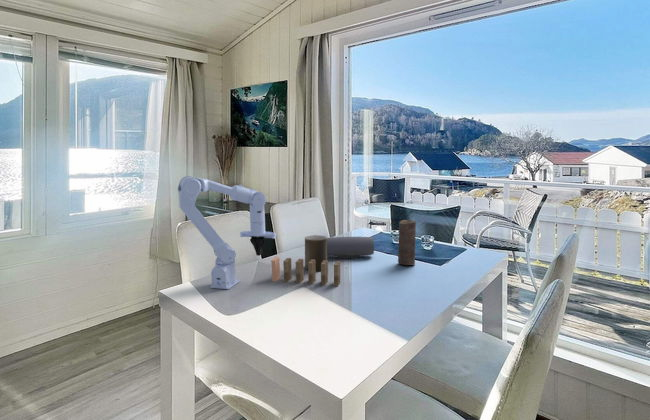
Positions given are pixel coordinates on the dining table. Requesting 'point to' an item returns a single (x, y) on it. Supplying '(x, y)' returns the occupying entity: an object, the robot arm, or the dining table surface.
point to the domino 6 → (337, 273)
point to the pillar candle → (315, 250)
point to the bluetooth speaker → (350, 246)
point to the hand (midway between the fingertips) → (259, 254)
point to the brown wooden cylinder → (407, 242)
